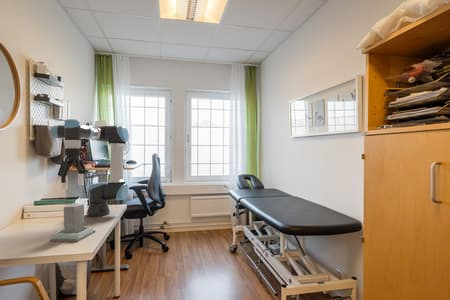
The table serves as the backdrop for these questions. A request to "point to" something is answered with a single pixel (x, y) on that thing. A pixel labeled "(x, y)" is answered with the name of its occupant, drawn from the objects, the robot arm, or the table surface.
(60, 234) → the tray
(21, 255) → the table surface
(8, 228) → the table surface
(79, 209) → the skincare box
